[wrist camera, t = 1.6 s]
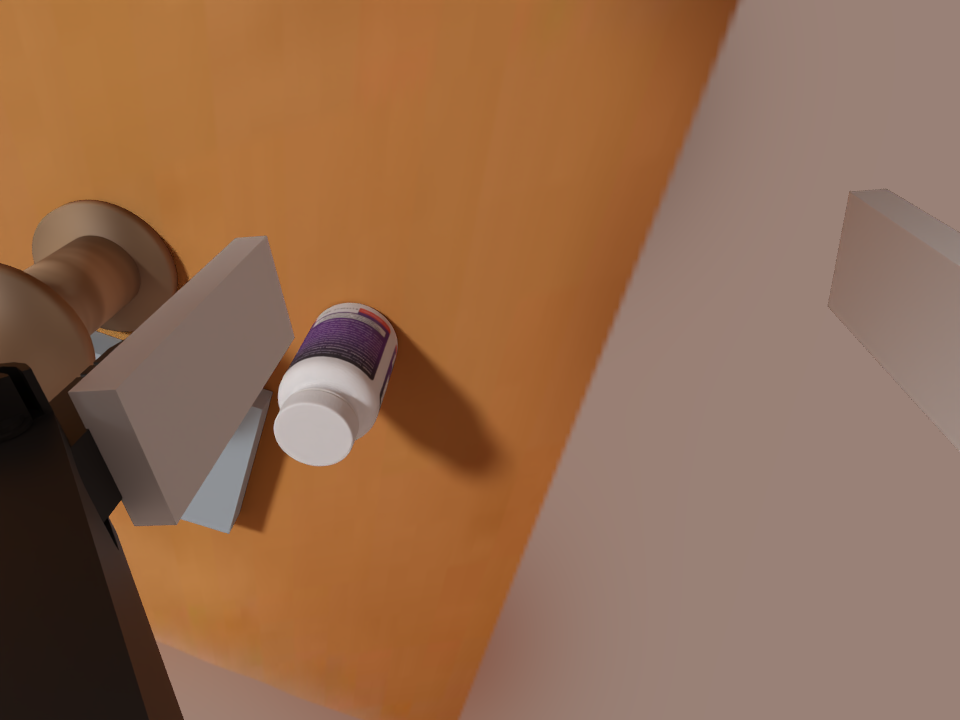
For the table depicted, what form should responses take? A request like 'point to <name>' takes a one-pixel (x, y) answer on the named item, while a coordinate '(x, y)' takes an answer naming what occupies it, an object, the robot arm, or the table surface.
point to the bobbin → (81, 288)
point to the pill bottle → (335, 384)
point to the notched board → (220, 462)
